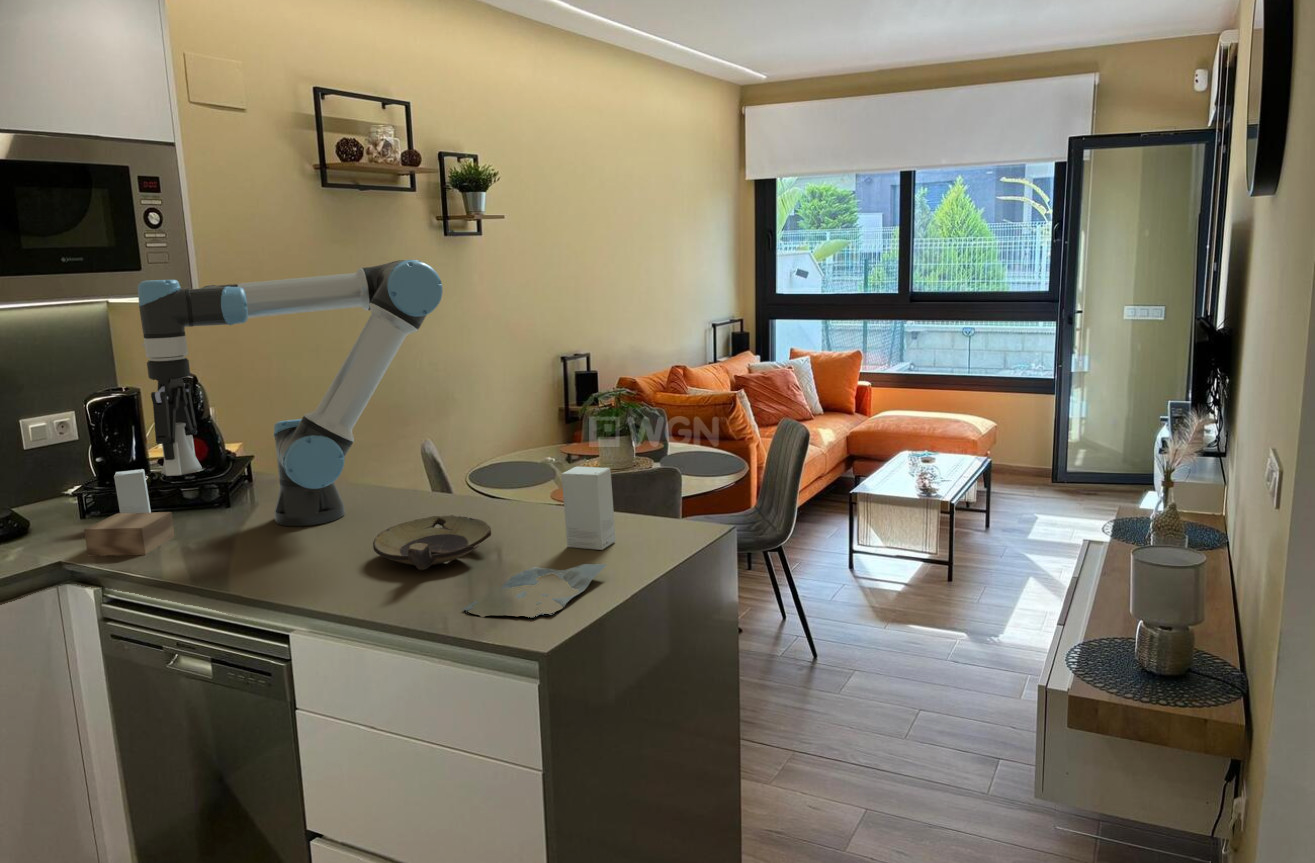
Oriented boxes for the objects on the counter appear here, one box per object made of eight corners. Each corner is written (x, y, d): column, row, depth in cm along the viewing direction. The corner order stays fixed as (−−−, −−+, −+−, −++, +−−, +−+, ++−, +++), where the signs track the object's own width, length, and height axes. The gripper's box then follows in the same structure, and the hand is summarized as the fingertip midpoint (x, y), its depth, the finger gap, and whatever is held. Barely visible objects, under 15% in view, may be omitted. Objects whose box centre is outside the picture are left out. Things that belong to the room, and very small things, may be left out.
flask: (209, 469, 203) (204, 421, 201) (182, 477, 196) (176, 427, 194) (181, 467, 205) (175, 420, 203) (153, 475, 198) (147, 426, 197)
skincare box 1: (152, 518, 230) (145, 468, 228) (151, 523, 226) (144, 471, 224) (122, 522, 228) (115, 471, 225) (120, 527, 224) (113, 475, 221)
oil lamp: (512, 542, 203) (510, 506, 201) (436, 592, 175) (432, 550, 173) (417, 535, 210) (415, 501, 208) (329, 582, 182) (325, 542, 180)
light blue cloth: (543, 634, 158) (541, 620, 157) (459, 624, 164) (457, 611, 164) (609, 576, 180) (607, 564, 179) (533, 569, 186) (531, 558, 185)
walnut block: (175, 538, 214) (171, 512, 213) (145, 556, 202) (141, 527, 201) (120, 540, 214) (116, 513, 213) (88, 557, 203) (84, 529, 201)
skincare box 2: (616, 542, 200) (613, 467, 197) (601, 551, 194) (597, 474, 192) (580, 538, 204) (576, 464, 201) (564, 547, 198) (560, 471, 195)
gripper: (168, 353, 206) (182, 461, 210) (125, 365, 186) (141, 483, 190) (205, 352, 206) (218, 459, 211) (166, 363, 187) (181, 481, 191)
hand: (181, 470), depth 201 cm, fingers closed on flask, 7 cm apart
